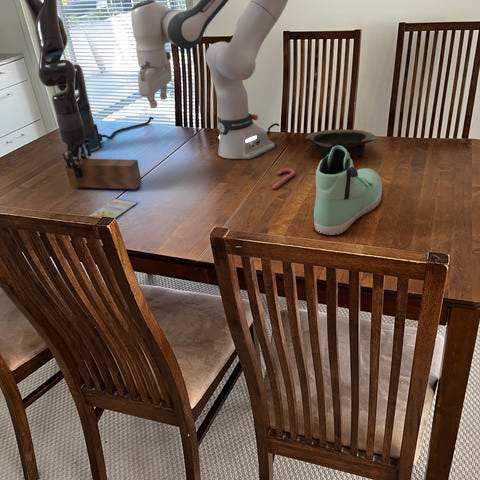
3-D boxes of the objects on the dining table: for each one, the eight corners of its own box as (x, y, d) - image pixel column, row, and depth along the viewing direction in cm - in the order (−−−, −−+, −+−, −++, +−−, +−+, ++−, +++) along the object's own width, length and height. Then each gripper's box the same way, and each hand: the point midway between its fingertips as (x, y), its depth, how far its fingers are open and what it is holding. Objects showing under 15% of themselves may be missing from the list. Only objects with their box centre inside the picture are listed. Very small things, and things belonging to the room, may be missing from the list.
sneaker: (389, 187, 148) (396, 123, 138) (356, 242, 123) (361, 168, 112) (346, 181, 154) (350, 119, 144) (306, 232, 129) (307, 161, 118)
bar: (70, 186, 163) (64, 164, 159) (78, 180, 168) (72, 158, 163) (135, 189, 159) (131, 166, 154) (141, 182, 163) (137, 159, 158)
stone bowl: (333, 173, 159) (333, 147, 155) (293, 156, 179) (291, 132, 175) (391, 155, 168) (392, 129, 164) (346, 141, 188) (345, 118, 184)
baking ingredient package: (82, 218, 143) (114, 198, 155) (83, 220, 144) (114, 199, 155) (105, 223, 140) (136, 202, 151) (106, 224, 140) (136, 203, 151)
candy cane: (259, 187, 155) (259, 183, 155) (283, 170, 165) (283, 166, 165) (275, 190, 152) (275, 186, 151) (298, 173, 162) (298, 169, 162)
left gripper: (70, 133, 147) (83, 183, 156) (91, 118, 159) (103, 166, 168) (48, 133, 149) (62, 183, 158) (71, 118, 160) (83, 165, 169)
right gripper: (149, 66, 140) (157, 112, 147) (172, 52, 157) (177, 94, 164) (129, 66, 141) (138, 112, 149) (154, 52, 158) (160, 94, 166)
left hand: (83, 174), depth 163 cm, fingers closed on bar, 5 cm apart
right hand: (159, 103), depth 157 cm, fingers open, 8 cm apart
